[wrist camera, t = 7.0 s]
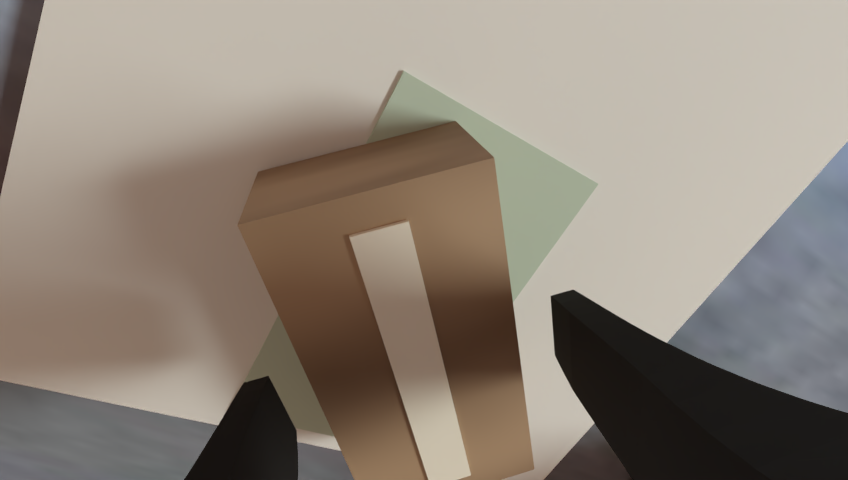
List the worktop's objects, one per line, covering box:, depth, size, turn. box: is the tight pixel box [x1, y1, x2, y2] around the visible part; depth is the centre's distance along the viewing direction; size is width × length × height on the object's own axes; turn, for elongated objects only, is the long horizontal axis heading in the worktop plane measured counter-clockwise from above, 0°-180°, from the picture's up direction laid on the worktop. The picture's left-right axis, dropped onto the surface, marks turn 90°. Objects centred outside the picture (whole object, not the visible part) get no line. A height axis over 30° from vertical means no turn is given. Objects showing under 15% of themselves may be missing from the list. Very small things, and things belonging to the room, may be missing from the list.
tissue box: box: [237, 121, 534, 480], centre depth 12 cm, size 10×5×3 cm, turn 11°
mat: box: [0, 0, 848, 480], centre depth 13 cm, size 20×20×1 cm
